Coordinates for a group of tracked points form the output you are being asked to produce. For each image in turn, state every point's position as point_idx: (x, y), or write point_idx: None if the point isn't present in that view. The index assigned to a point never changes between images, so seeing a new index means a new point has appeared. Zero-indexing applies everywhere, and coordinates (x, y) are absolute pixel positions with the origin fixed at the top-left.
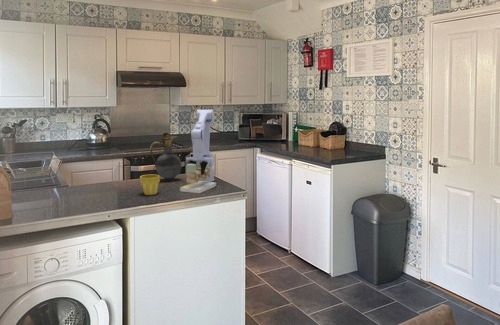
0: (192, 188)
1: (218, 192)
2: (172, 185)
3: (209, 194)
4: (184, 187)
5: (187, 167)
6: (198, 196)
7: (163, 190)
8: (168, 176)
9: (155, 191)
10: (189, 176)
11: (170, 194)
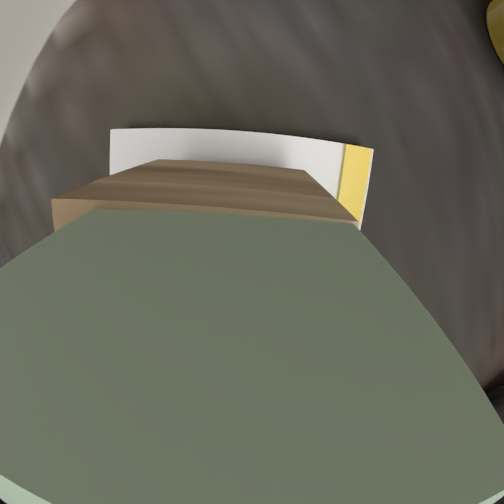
0: (209, 155)
1: (22, 225)
2: (468, 331)
3: (40, 134)
4: (331, 178)
5: (355, 325)
6: (91, 29)
7: (496, 155)
8: (500, 407)
9: (495, 8)
10: (236, 178)
11: (385, 11)
